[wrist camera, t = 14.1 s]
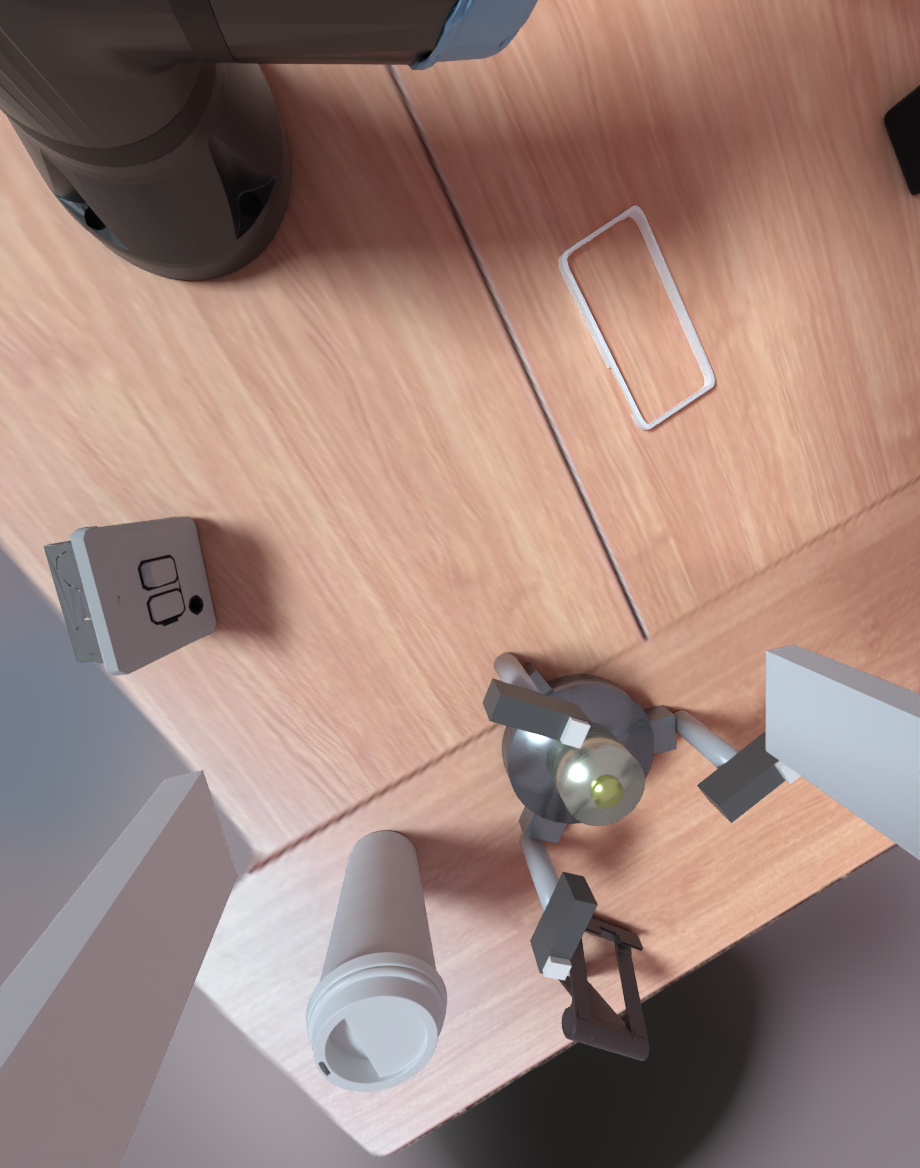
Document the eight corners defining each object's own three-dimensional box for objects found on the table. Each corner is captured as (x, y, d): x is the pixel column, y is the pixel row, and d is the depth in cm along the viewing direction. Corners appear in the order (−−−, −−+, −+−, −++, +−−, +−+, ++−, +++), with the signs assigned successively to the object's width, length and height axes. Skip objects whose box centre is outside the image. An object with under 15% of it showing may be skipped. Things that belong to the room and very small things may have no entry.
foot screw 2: (534, 807, 44) (576, 905, 34) (553, 812, 45) (601, 910, 34) (507, 867, 45) (540, 979, 35) (526, 871, 46) (565, 983, 35)
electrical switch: (220, 629, 37) (149, 676, 28) (156, 635, 37) (64, 684, 28) (196, 514, 35) (111, 524, 26) (128, 520, 35) (19, 532, 26)
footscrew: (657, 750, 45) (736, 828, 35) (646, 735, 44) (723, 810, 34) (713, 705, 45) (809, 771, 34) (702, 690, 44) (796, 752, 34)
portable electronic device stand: (635, 928, 50) (681, 1013, 42) (597, 982, 51) (635, 1076, 43) (571, 904, 48) (606, 988, 40) (533, 960, 49) (560, 1054, 41)
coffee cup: (330, 819, 42) (296, 995, 27) (433, 812, 43) (452, 977, 29) (333, 905, 44) (302, 1112, 29) (431, 896, 45) (448, 1089, 31)
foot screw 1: (465, 664, 40) (490, 726, 30) (474, 642, 40) (502, 696, 30) (536, 686, 42) (582, 752, 31) (545, 665, 41) (595, 724, 31)
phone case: (707, 386, 39) (630, 211, 35) (718, 383, 38) (639, 201, 34) (637, 434, 39) (552, 263, 35) (645, 432, 38) (558, 255, 34)
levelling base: (489, 670, 41) (510, 710, 34) (658, 635, 43) (714, 666, 35) (514, 837, 45) (538, 906, 38) (667, 800, 47) (719, 859, 39)
